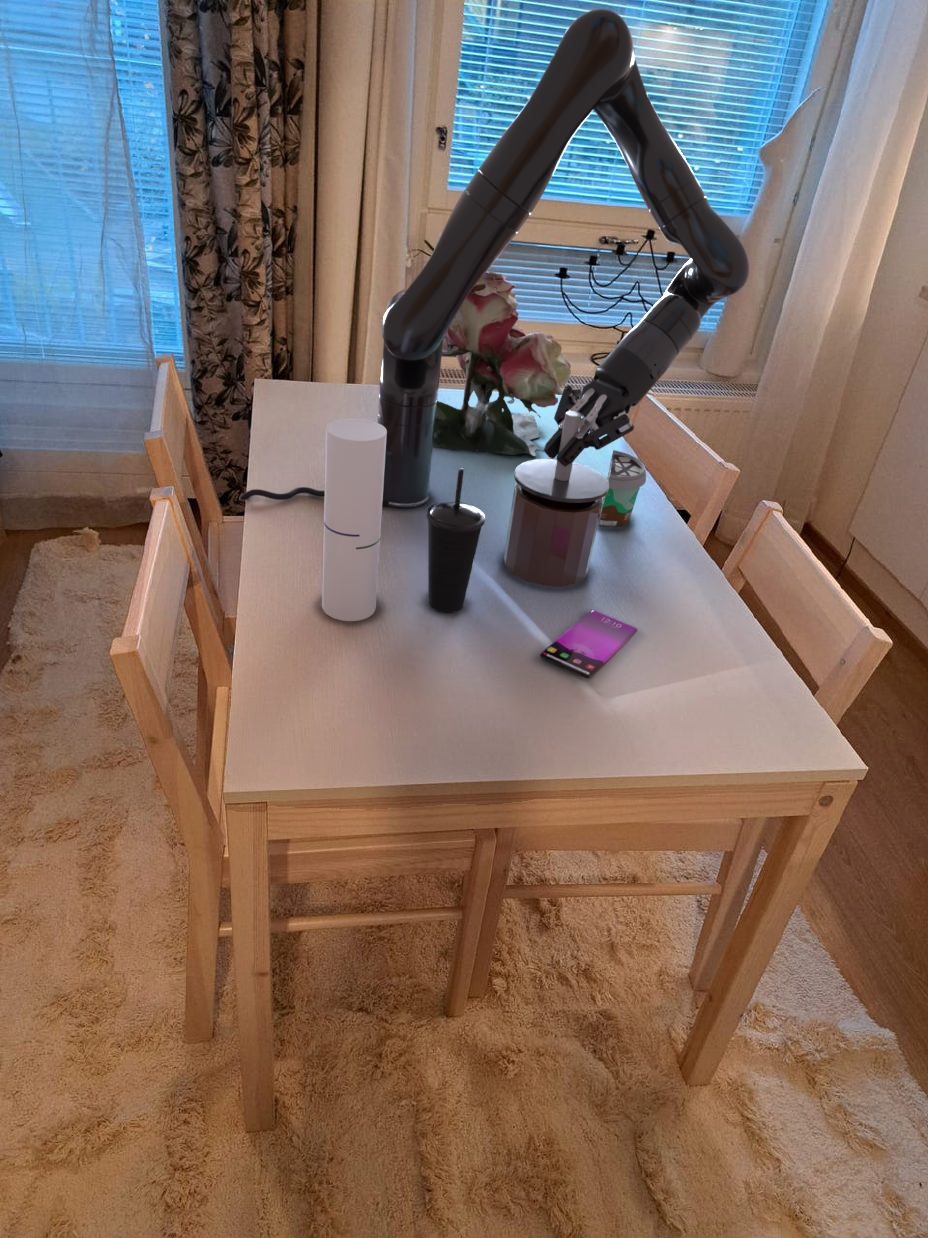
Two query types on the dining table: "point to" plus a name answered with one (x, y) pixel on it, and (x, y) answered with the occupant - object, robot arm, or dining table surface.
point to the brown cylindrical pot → (550, 538)
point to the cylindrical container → (352, 517)
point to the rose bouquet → (498, 373)
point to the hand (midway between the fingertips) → (554, 458)
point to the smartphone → (589, 643)
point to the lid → (562, 473)
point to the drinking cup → (451, 550)
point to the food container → (621, 489)
